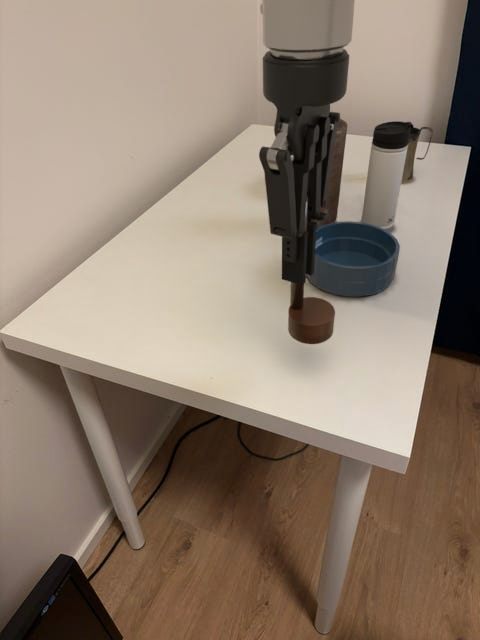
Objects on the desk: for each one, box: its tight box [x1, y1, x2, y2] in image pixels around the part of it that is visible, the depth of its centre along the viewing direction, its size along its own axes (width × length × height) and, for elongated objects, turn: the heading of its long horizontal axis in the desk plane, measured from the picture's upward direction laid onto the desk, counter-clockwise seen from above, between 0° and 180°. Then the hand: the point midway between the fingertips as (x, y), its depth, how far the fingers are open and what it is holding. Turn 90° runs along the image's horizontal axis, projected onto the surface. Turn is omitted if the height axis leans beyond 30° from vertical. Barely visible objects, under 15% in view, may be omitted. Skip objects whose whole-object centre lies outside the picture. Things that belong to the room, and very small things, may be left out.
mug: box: [401, 126, 434, 184], centre depth 110 cm, size 8×6×12 cm
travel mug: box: [360, 120, 414, 233], centre depth 90 cm, size 6×7×20 cm
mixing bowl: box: [306, 220, 401, 298], centre depth 83 cm, size 15×15×6 cm
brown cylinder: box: [315, 118, 348, 228], centre depth 92 cm, size 8×7×20 cm
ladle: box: [287, 197, 336, 345], centre depth 55 cm, size 6×6×18 cm
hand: (297, 275), depth 57 cm, fingers closed on ladle, 2 cm apart
